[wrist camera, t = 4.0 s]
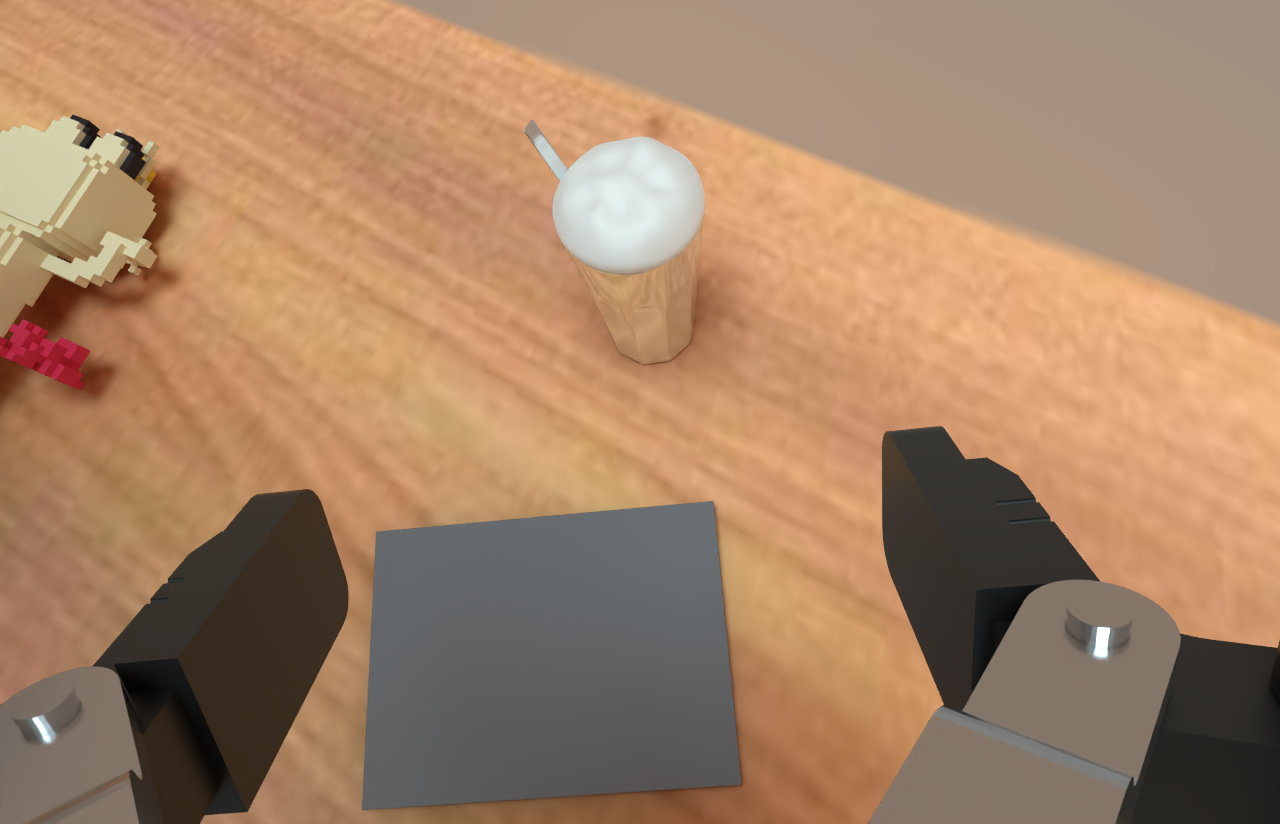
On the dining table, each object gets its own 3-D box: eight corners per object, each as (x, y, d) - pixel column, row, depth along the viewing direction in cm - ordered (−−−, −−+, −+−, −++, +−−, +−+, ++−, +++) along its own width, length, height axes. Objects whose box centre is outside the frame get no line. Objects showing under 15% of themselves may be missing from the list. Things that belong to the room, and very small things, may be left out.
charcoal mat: (369, 808, 28) (362, 810, 27) (382, 535, 31) (376, 531, 30) (741, 784, 27) (741, 784, 26) (713, 505, 30) (713, 500, 29)
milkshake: (613, 250, 34) (569, 67, 25) (732, 303, 33) (731, 130, 24) (554, 341, 33) (484, 183, 24) (675, 400, 32) (649, 257, 22)
